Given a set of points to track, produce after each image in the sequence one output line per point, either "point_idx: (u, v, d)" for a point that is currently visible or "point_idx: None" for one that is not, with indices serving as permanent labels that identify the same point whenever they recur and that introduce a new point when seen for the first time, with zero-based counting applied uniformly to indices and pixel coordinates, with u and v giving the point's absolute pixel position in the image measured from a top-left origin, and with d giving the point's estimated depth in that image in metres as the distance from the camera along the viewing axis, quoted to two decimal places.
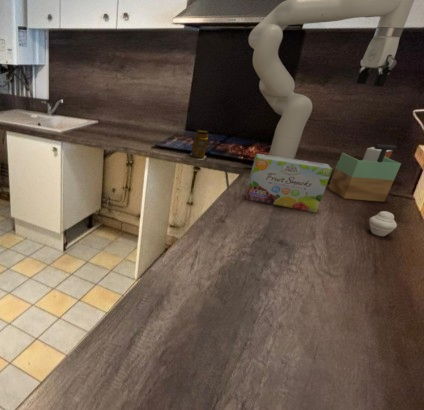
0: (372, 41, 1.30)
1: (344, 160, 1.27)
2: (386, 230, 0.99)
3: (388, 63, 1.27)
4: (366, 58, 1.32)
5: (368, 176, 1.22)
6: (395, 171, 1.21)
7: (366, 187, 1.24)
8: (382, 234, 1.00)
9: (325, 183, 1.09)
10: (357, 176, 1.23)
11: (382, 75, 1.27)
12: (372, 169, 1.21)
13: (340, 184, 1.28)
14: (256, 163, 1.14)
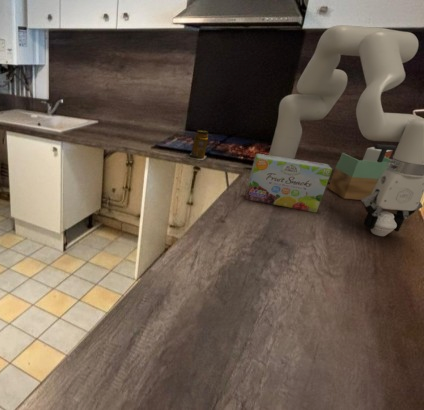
0: (400, 178, 0.93)
1: (344, 160, 1.27)
2: (386, 230, 0.99)
3: None
4: (393, 199, 0.95)
5: (368, 176, 1.22)
6: None
7: (366, 187, 1.24)
8: (382, 234, 1.00)
9: (325, 183, 1.09)
10: (357, 176, 1.23)
11: None
12: (372, 169, 1.21)
13: (340, 184, 1.28)
14: (256, 163, 1.14)
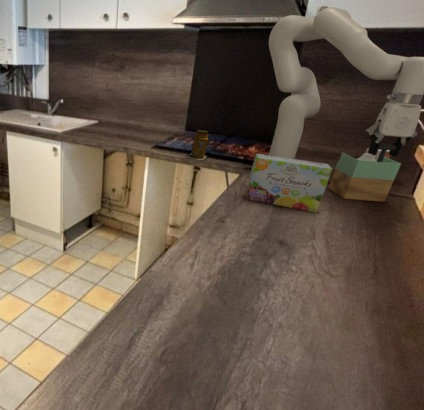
0: (398, 108, 1.11)
1: (344, 160, 1.27)
2: None
3: None
4: (392, 126, 1.13)
5: (368, 176, 1.22)
6: (395, 171, 1.21)
7: (366, 187, 1.24)
8: None
9: (325, 183, 1.09)
10: (357, 176, 1.23)
11: None
12: (372, 169, 1.21)
13: (340, 184, 1.28)
14: (256, 163, 1.14)
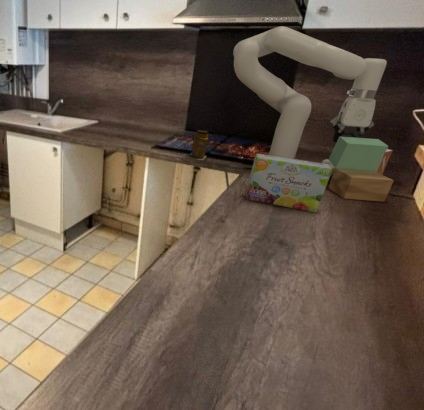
0: (356, 102, 1.30)
1: (334, 155, 1.33)
2: None
3: None
4: (352, 118, 1.32)
5: (362, 143, 1.27)
6: (381, 142, 1.28)
7: (366, 187, 1.24)
8: None
9: (325, 183, 1.09)
10: (352, 143, 1.27)
11: None
12: (359, 140, 1.29)
13: (340, 184, 1.28)
14: (256, 163, 1.14)
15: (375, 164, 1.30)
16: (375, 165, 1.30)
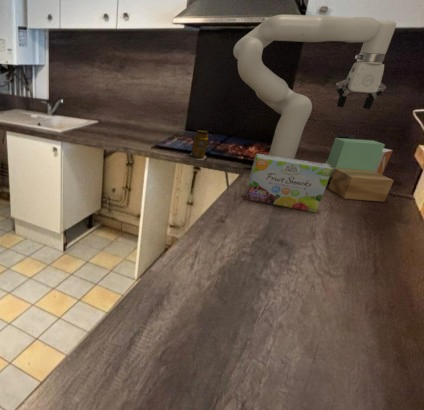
0: (364, 66, 1.27)
1: (332, 156, 1.34)
2: None
3: None
4: (360, 83, 1.29)
5: (358, 142, 1.29)
6: (376, 142, 1.30)
7: (366, 187, 1.24)
8: (331, 176, 1.47)
9: (325, 183, 1.09)
10: (349, 141, 1.28)
11: None
12: (355, 140, 1.31)
13: (340, 184, 1.28)
14: (256, 163, 1.14)
15: (374, 163, 1.30)
16: (374, 165, 1.31)
